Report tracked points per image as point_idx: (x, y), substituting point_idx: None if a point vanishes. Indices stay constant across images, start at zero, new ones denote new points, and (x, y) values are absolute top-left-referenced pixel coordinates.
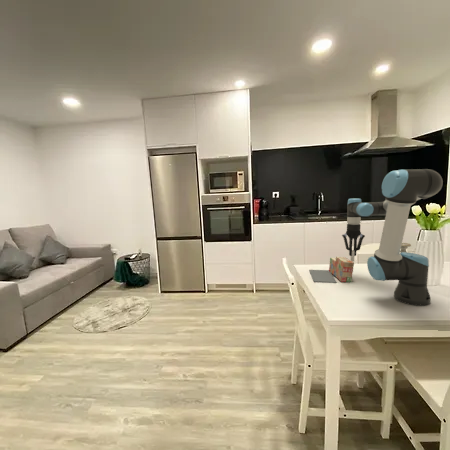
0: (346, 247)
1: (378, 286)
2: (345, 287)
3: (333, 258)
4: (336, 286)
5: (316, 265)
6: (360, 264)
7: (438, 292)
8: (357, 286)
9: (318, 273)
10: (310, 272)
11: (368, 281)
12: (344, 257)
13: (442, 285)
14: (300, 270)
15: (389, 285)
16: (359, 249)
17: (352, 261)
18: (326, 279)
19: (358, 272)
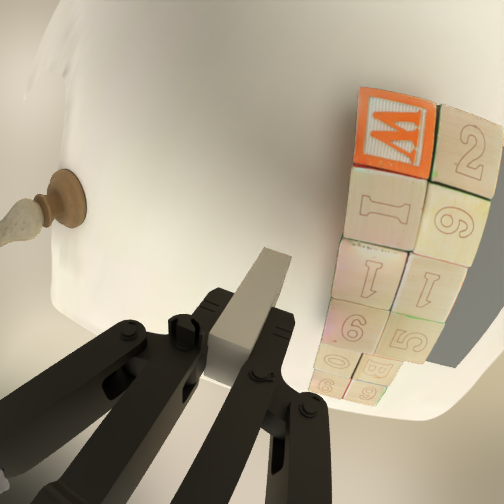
0: (327, 443)
1: (224, 21)
2: (446, 37)
3: (364, 392)
4: (490, 72)
5: (365, 409)
6: None
7: (61, 13)
8: (362, 28)
9: (466, 309)
10: (485, 331)
11: (236, 108)
12: (337, 339)
13: (27, 88)
14: (483, 369)
15: (159, 44)
16: (121, 324)
17: (283, 254)
18: (499, 194)
19: (217, 279)
